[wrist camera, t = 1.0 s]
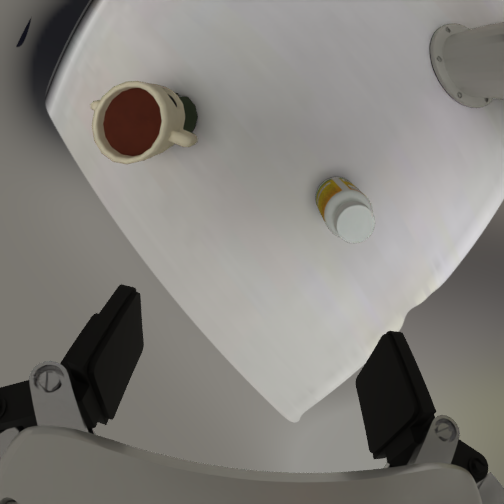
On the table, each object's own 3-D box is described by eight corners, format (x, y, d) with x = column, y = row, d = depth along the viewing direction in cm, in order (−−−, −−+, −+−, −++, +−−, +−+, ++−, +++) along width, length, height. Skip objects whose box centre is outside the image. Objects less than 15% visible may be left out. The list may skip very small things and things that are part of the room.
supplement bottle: (354, 174, 34) (381, 195, 25) (356, 214, 36) (382, 246, 28) (312, 179, 35) (327, 201, 26) (316, 219, 37) (331, 253, 28)
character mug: (226, 108, 31) (204, 105, 20) (200, 161, 34) (167, 187, 23) (147, 77, 29) (92, 66, 18) (126, 129, 32) (66, 141, 21)
